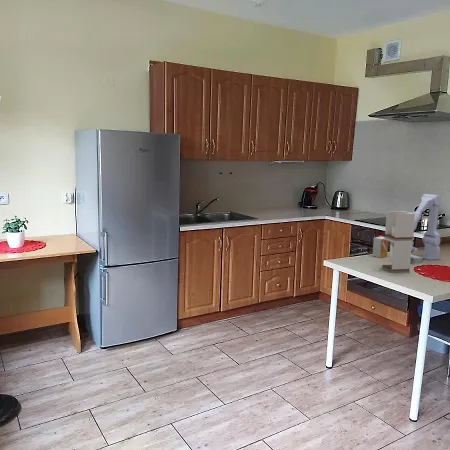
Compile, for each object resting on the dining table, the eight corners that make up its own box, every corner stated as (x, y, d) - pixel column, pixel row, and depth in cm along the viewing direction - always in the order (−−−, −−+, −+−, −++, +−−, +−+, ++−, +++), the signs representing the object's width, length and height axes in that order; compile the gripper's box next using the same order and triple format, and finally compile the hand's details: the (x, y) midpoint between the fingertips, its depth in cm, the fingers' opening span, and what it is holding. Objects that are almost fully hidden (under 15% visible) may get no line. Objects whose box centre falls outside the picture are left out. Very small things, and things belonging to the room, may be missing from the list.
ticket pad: (407, 257, 294) (407, 253, 293) (422, 262, 282) (422, 257, 281) (399, 258, 291) (399, 253, 291) (414, 263, 279) (414, 258, 279)
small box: (379, 258, 291) (381, 239, 289) (372, 256, 296) (373, 237, 294) (387, 256, 295) (389, 238, 293) (379, 254, 300) (381, 236, 298)
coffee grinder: (398, 267, 267) (403, 211, 261) (409, 272, 257) (415, 213, 251) (381, 268, 264) (386, 211, 259) (392, 272, 254) (397, 213, 248)
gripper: (395, 237, 284) (393, 257, 286) (412, 242, 271) (410, 263, 273) (403, 237, 287) (401, 257, 289) (420, 241, 273) (418, 262, 275)
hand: (406, 260), depth 281 cm, fingers closed
